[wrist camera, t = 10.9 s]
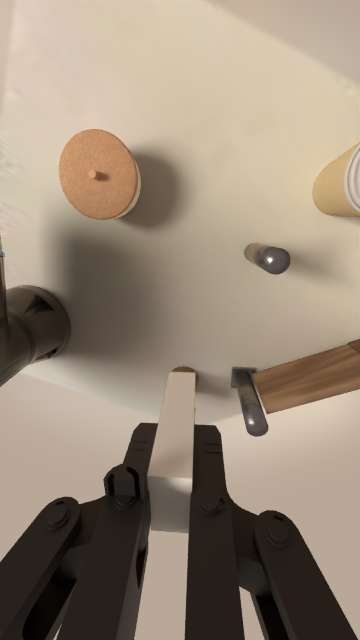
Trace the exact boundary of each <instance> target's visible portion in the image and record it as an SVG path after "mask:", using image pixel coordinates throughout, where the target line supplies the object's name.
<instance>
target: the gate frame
mask: <svg viewBox="0 0 360 640" xmlns="http://www.w3.org/2000/svg"><path fill="white" fill-rule="evenodd" d="M244 255H245V257H246V259H247V260H249V261H250V262H252V263H254V264H256V265H257V266H259V267H261V268H262V269H264V270H266V271H267V272H269V273H271V274H281V273H283V272H284V271H285V270H287V268H288V267H289V265H290V255H289V253H288V252H287V251H286V250H284V249H281V248H276V247H271V246H266V245H261V244H257V243H252V244H249V245H248V246H247V247H246V249H245V252H244ZM254 373H255V368H241V367H232V378H231V388H237V390H238V395H239V399H240V403H241V407H242V412H243V416H244V420H245V424H246V429H247V432H248V433H249V434H250V435H252V436H262V435H264V434H266V432H267V431H268V424H267V421H266V418H265V416H264V413H263V410H262V407H261V404H260V401H259V398H258V395H257V393H256V390H255V387H254V378H253V375H252V374H254Z"/></svg>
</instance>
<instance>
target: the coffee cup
mask: <svg viewBox="0 0 360 640" xmlns="http://www.w3.org/2000/svg"><path fill="white" fill-rule="evenodd" d="M312 194H313V200H314V203H315V205H316V207H317V208H318V209H319V210H320V211H321V212H323V213H325V214H328V215H335V216H360V143H358V144H357V145H356V146H354V147H353V148H351V149H350V150H348V151H347V152H345V153H344V154H343V155H341V156H340V157H338V158H337V159H335V160H334V161H333V162H331V163H330V164H329V165H327V166H326V167H325V168H324V169H323V170H322V171H321V172H320V173H319V175H318V176H317V178H316V180H315V182H314V185H313V192H312Z"/></svg>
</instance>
